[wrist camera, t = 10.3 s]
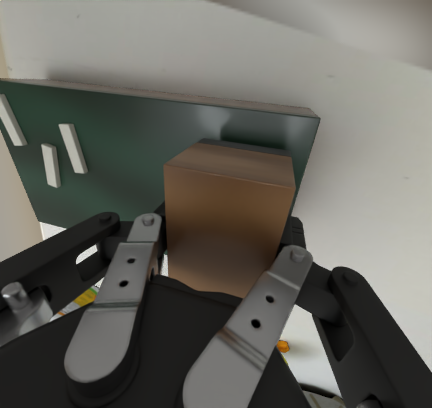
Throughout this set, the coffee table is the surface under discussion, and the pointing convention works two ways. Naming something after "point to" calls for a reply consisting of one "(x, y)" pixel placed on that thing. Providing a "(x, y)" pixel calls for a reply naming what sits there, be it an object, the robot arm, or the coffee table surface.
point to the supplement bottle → (78, 302)
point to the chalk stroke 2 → (51, 164)
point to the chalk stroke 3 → (73, 147)
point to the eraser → (225, 213)
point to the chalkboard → (132, 142)
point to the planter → (323, 401)
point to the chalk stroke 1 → (11, 122)
